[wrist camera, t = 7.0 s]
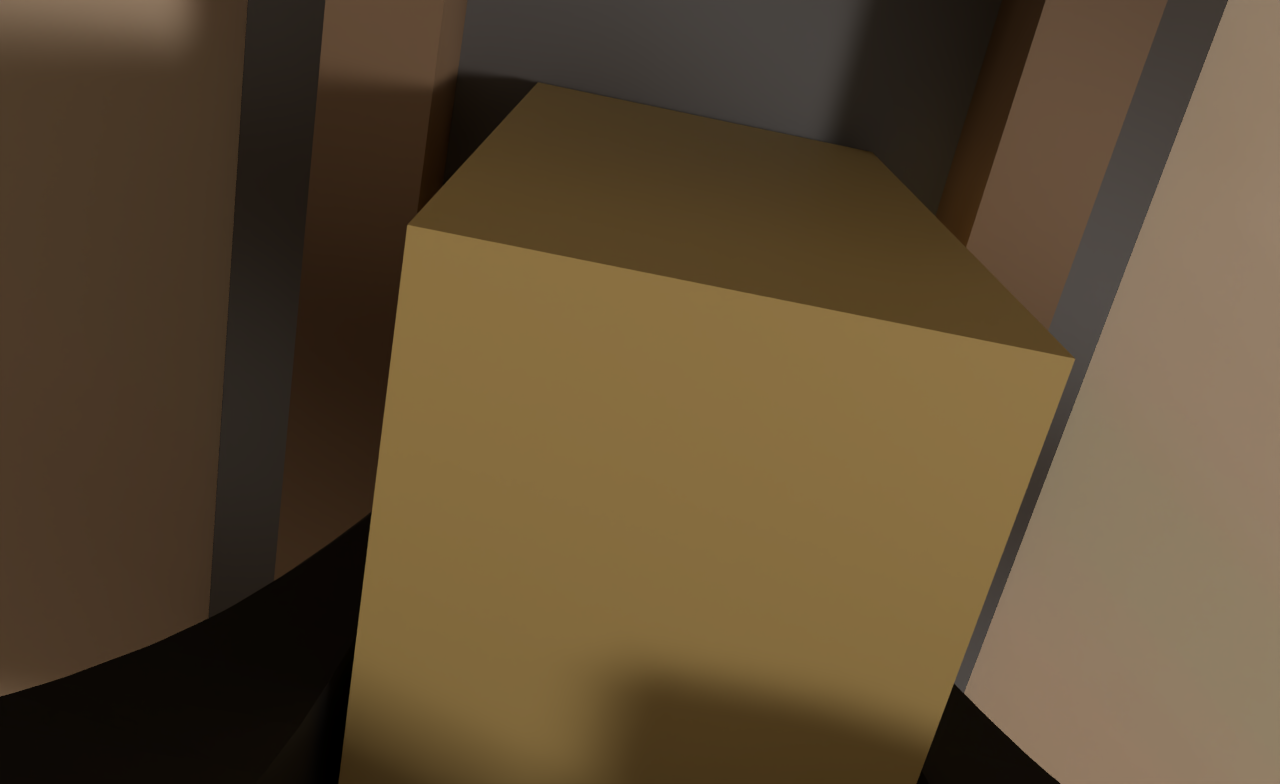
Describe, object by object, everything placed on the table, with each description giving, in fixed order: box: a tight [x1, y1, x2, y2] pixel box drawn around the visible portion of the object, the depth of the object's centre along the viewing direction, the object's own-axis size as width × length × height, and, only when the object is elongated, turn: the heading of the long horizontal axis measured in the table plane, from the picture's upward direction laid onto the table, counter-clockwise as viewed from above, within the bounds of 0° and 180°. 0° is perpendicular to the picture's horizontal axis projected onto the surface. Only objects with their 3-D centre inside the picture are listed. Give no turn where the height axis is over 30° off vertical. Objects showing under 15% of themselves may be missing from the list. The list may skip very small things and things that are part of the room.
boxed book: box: [338, 82, 1075, 784], centre depth 12 cm, size 10×4×7 cm, turn 169°
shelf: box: [209, 0, 1228, 693], centre depth 12 cm, size 17×11×6 cm, turn 169°
